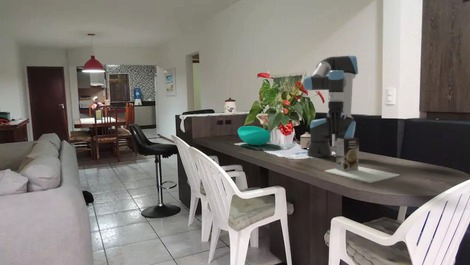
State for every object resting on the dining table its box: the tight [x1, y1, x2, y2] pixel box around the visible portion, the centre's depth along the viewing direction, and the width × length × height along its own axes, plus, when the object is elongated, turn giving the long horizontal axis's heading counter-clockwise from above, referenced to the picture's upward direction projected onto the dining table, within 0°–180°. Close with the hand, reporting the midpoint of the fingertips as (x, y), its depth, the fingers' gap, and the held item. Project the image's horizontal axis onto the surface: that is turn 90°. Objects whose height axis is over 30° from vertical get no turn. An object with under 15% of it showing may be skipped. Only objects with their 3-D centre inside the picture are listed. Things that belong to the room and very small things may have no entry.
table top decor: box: [237, 125, 271, 146], centre depth 256 cm, size 40×28×13 cm
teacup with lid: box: [300, 131, 310, 149], centre depth 238 cm, size 12×9×12 cm
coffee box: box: [335, 137, 360, 171], centre depth 165 cm, size 9×6×16 cm
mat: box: [323, 165, 400, 184], centre depth 159 cm, size 26×22×1 cm
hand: (334, 146), depth 171 cm, fingers closed
